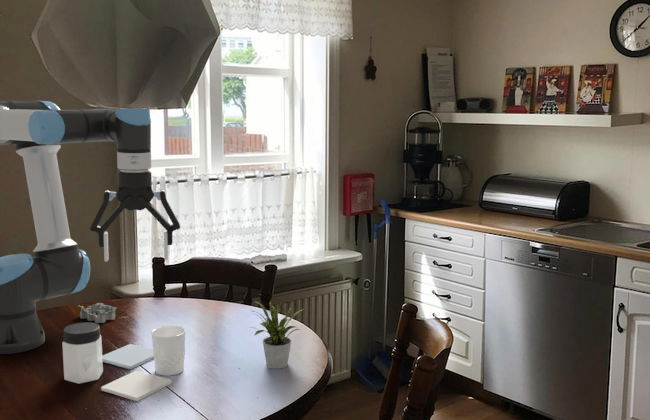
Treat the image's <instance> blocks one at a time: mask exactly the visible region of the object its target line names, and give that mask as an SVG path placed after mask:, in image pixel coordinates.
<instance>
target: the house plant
mask: <svg viewBox="0 0 650 420" xmlns="http://www.w3.org/2000/svg"><path fill="white" fill-rule="evenodd" d="M254 302H255V303H256V304H258V305H259V306H260V307H261V308H262V311H263V313H264V315H265V316H266V317H264V316H263V315H262V314H261V313H259V312H257V311H254V310H252V312H254V315H255V316H257V317H259V315H260V317H261V318H262V319H261V321H262V322H261V323H259V325H261V326H263V328H265V329H266V330H265V329H258V328H256V327H255V330H256V331H255V334H254V336H253V337H255V336H257V335H259V334H261V333H264V332H266V333H268V335H269V336H266V335H265V334H264V336H266V337H264V338H263V340H262V345H263V351H264V357H265V363H266V366H267V367H268V368H270V369H274V370H277V369H283V368H286V367H288V363H289V359H290V351H291V346H292V339H291V338H290V337H289V336H290V334H292V333H294V332H295V331H299V330H300V331H301V329H299V328H298V326H294V325H290V326H287V325H288V324H289V323H290V321H291V320H292V319H293V318H294V317H296V316H297V315H298V313H301V311H304V310H305V308H304V309H303V308H302V309H300V310H297V311H296V312H295V313H293V315H292V316H291V317H290V318H289V315H290V312H291V310H292V306H290V307H289V309H288V311H287V313H286V316H285V317H283V318H282V319H280V321H279V317H278V316H279V311H280V310H281V308H278V309H277V310H276V308H275V306H274V305H273V304H272V302H269V309H270V311H269V312H270V316H269V313H268V311H267V309H266V308H265V306H264V305H263V304H262V303H261V302H258V301H255V300H254ZM282 302H283V301H281V303H280V304H282ZM255 313H257V314H255ZM258 314H259V315H258ZM270 317H271V318H270ZM263 319H264V320H265V321H264V320H263ZM249 328H250V329H251V328H252V329H254V327H252V326H251V327H249ZM294 328H295V329H294ZM292 329H293V330H292ZM289 330H291V331H290V332H289ZM287 332H288V333H287ZM286 334H287V335H286Z"/></svg>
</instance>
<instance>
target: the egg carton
mask: <svg viewBox="0 0 650 420" xmlns="http://www.w3.org/2000/svg"><path fill="white" fill-rule="evenodd" d="M77 307H79V308H81V309H80V311H79V318H80V319H82V320H83V319H87V321H89V322H92V321H94V323H95V324H100V323H101V324H104V323H106V322H107V321H112V320H115V319H116V310H117V308H118V307H114V306H111V305H110V304H104V303H103V302H97V303H95V304H93V303H92V305H87V308H85V307H84V305H80V304H78V305H77Z"/></svg>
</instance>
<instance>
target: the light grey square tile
mask: <svg viewBox="0 0 650 420" xmlns="http://www.w3.org/2000/svg"><path fill="white" fill-rule="evenodd" d="M102 359H103V363H106V364H110V365H113V366H117V367H120V368H124V369H127V370H133V369H134V368H136V367H139V366H140V365H144V364H145V363H147V362H150V361H151V360H154V353H153V348H149V347H144V346H141V345H138V344H137V345H136V344H132V343H129V344H127V345H125V346H122V347H119V348H117V349H115V350H112V351H110V352H108V353H105V354H102Z"/></svg>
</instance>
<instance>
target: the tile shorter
mask: <svg viewBox="0 0 650 420" xmlns="http://www.w3.org/2000/svg"><path fill="white" fill-rule="evenodd" d="M171 384H172V379H169V378H165V377H161V376H157V375H154V374H151V373H147V372H144V371H140V370H134V371H132V372H130V373H128V374H126V375H124V376H123V375H122V377H119V378H118V379H115V380H113V381H111V382H109V383H106V384H104V385H102V386H101V387H100V391H102V392H106V393H109V394H113V395H115V396H119V397H122V398H125V399H129V400H131V401H134V402H140V401H141V400H143V399H144V398H147V397H149V396H151V395H152V394H154V393H156V392H159V390H160V391H161V390H162V389H164V388H166V387H167V386H169V385H171Z"/></svg>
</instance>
